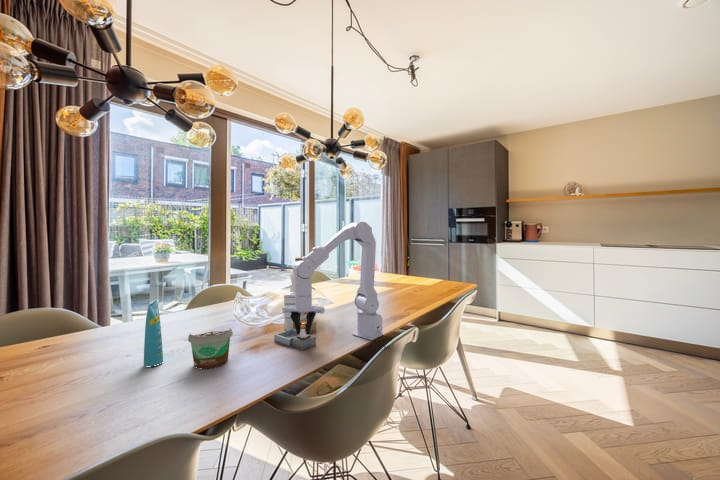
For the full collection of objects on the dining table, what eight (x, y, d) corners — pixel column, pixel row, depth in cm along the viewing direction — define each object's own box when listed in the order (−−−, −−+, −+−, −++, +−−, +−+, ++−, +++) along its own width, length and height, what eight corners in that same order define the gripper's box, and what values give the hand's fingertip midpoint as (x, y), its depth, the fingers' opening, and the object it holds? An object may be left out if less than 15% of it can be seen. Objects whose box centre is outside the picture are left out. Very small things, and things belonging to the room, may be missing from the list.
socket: (315, 345, 106) (315, 336, 105) (303, 350, 101) (302, 341, 101) (304, 341, 109) (304, 333, 109) (291, 346, 104) (291, 337, 104)
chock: (316, 331, 120) (316, 321, 120) (305, 335, 116) (305, 325, 115) (303, 328, 124) (303, 318, 124) (293, 332, 120) (293, 322, 119)
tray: (307, 339, 111) (307, 333, 111) (289, 346, 104) (289, 339, 104) (292, 334, 116) (292, 328, 116) (274, 341, 109) (274, 334, 109)
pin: (309, 345, 105) (309, 322, 105) (303, 348, 103) (303, 325, 103) (304, 343, 107) (303, 321, 107) (297, 345, 105) (297, 323, 104)
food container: (187, 374, 84) (186, 339, 83) (188, 366, 89) (187, 333, 89) (234, 365, 89) (234, 332, 89) (233, 358, 95) (232, 326, 94)
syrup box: (298, 330, 122) (297, 294, 121) (283, 329, 122) (283, 294, 121) (301, 325, 127) (301, 292, 127) (287, 325, 128) (287, 291, 127)
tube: (161, 367, 88) (159, 303, 87) (141, 371, 86) (139, 304, 85) (164, 358, 95) (163, 298, 94) (146, 360, 93) (145, 299, 92)
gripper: (325, 292, 108) (326, 329, 108) (286, 292, 109) (286, 329, 109) (322, 297, 101) (322, 336, 101) (280, 296, 102) (280, 335, 102)
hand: (303, 333), depth 105 cm, fingers closed on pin, 3 cm apart
